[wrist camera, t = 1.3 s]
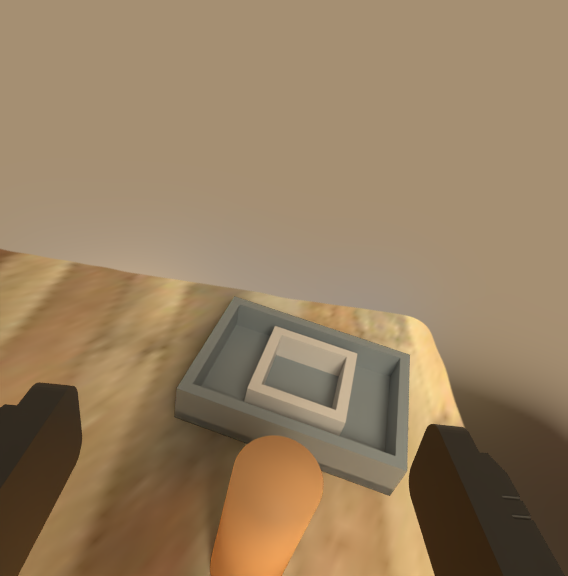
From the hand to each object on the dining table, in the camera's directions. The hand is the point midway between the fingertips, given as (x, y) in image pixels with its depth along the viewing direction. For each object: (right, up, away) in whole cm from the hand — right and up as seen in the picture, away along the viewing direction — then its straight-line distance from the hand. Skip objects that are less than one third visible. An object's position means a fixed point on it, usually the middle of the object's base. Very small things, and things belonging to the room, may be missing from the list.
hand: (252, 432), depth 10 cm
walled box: (+2, -8, +33) cm, 34 cm away
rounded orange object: (-2, -16, +20) cm, 26 cm away
